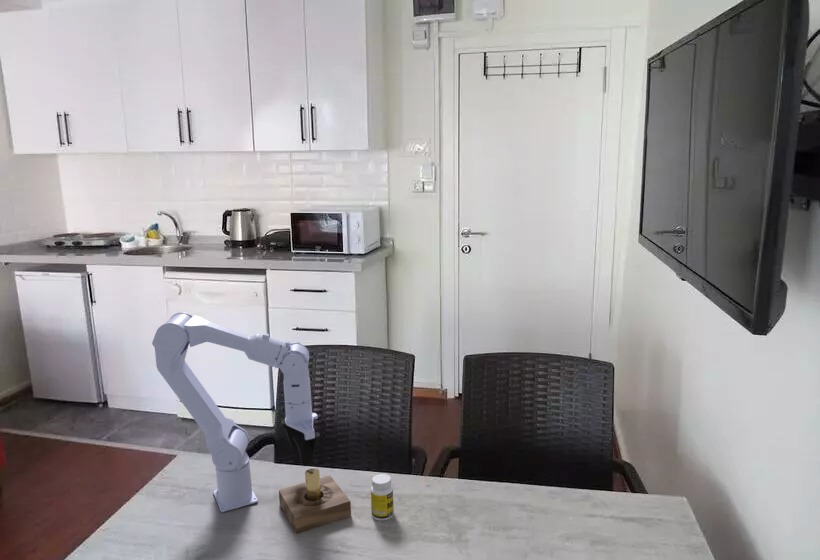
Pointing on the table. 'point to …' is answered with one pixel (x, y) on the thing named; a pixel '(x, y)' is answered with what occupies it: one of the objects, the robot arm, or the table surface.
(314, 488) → the brass peg
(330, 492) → the socket block
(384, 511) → the supplement bottle
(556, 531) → the table surface
